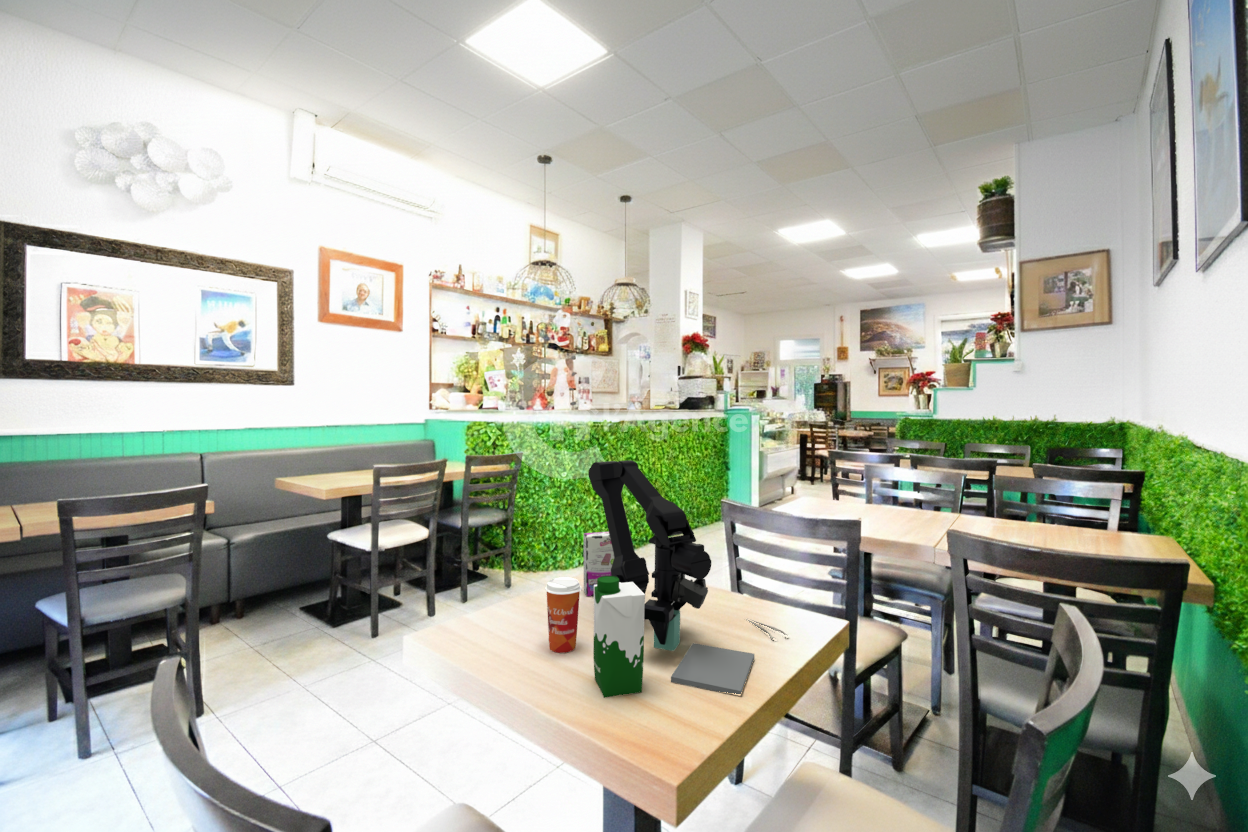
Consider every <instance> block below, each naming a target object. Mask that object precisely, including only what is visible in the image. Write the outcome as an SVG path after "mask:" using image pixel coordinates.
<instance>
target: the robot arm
mask: <svg viewBox="0 0 1248 832" xmlns="http://www.w3.org/2000/svg"><path fill="white" fill-rule="evenodd" d="M587 474H588V479H589V481H590V485H591V487H592V489H593V491H594V492H595V493H596V494H597V495H598V497H599V498H600V499H601V502H602V507H603V510H604V516H605V519H606V525H607V528H608V532H609V534H610V539H611V543H612V548H613V552H614V561H613V564H612V567H611V576H615V577H617V578H619V582H621V583H625V582H634V584H635V585H636V586H637V587H638V588H639V589H640V590H641V591H642V592H643V593H644V594H645V595H646V591H647V588H648V585H649V583H650V577H649V575H650V572H649V570H648V567H647V566H648V565H647V561H646V558H645V557H644V556H643V557H640V556H639V555H638V554H637V553H636V552H635V551H636V550H635V548H634V543H633V539H632V534H631V531H630V527H629V522H628V517H627V514H626V509H625V505H624V500H623V496H622V492H623V489H624V486H625V487H626V488H627V490H628V491H629V492H630V494H631V495H632V496H633V497H634V498H635V500H636V501H637V503H638V504H639V505H640V506H641V507H642V509H643V511H644V513H645V521H646V523H647V525H648V527H649V529H650V530H651V533H652V534H653V536H652V537H651V538H649V539H648V543H650V544H653V545H654V571H652V572H651V579H654V583H653V584H654V586H653V587H654V588H653V590H652V591H651V593H650V594H651V598H657V599H648V600H647V601H645V607H644V620H648V622H649V623H650V625H651V627H652V630H653V633H654V632H655V634H656V636H657V638H658V641H659V643H660V644H662V645H665V643H666V638H667V632H668V626H669V622H670V621H672V620H673V618H674V617H675V616H676V615H674V610H677V611H680V612H681V609H682V608H683V607H684V606H685V605H686V604H688V605H690V606H692V608H694V609H700V608H701V607H702V605H703V604H704V602H705V600H706V597H707V594H708V593H709V589H708V587H707V583H706V577H707V576H708V574H709V573H710V571H711V568H712V559H711V556H710V554H709V553H708V552H707V551H705V545H704V544H701V543H696V542H697V539H696V536H695V533H694V531H693V529H692V528H691V525H690V522H689V520H688V518H687V514H686V513H685V511H684V510H683V509H682V508H681V507H679V506H678V505H677V504H676V503H675V502H673V501H671V500H669V499H667V498H664V497H663V495H662V494H661V493H660V492H659V491H658V490H657V489H656V488H655V486H654V485H653V484H652V482H650V480H649V479H648V478H647V476H646V475H645V474H644V473H643V471H642V470H641V469H640V468H639V464H638V463H637V462H636V461H634V460H618V461H616V460H609V461H608V460H607V461H595V462H593V463H592V464H591V465H590V467H589V468H588V473H587ZM686 576H687V577H691V579H688V578H686ZM692 578H693V579H692ZM694 579H695V580H694Z"/></svg>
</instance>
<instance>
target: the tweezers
mask: <svg viewBox="0 0 1248 832" xmlns="http://www.w3.org/2000/svg"><path fill="white" fill-rule="evenodd" d="M745 619H746V618H745ZM747 620H748V618H747V619H746V620H745V621H747ZM751 620H752V619H751ZM748 621H749V622H748ZM748 621H747V622H748V623H750V622H751V623H752V625H753V624H754V625H755V626H757V627H758V628H760V629H761V630H763V631H764V632H766V633H768V634H769V636H770V638H772V639H773V638H775V637H774V636H773V635H772V634H771V633H770V631H768V629H766V628H765V627H763V626H761V625H764V626H767V627H769V628H771V629H773V630H775V631H778V632H779V633H783V634H784V635H788V633H785V632H784V631H783V630H781V629H780V628H777V627H775V626H772V625H768V624H767V623H766V624H765V623H762V622H759V621H757V620H752V621H754V622H756V623H759V624H761V625H758V624H756V623H754V622H752V621H750V620H748ZM751 623H750V624H751ZM754 625H753V626H754ZM755 626H754V627H755ZM757 627H756V628H757ZM758 628H757V629H758ZM761 630H760V631H761ZM770 638H769V639H770ZM772 639H771V640H772Z"/></svg>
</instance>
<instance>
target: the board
mask: <svg viewBox="0 0 1248 832" xmlns="http://www.w3.org/2000/svg"><path fill="white" fill-rule="evenodd" d="M753 660H754V661H755V653H751V652H748V651H747V652H746V651H741V650H735V649H728V648H724V647H718V646H712V645H708V644H707V645H706V644H702V643H696V642H692V643H691V645H690V647H689V648H688V649H687V651H686V653H685V654H684V656H683V657H682V659H681V660H680V662H679V664H678V665H677V667H676V668H675V670H674V671H673V673H672V675H671V676H670V683H674V684H678V685H679V684H680V685H683V686H688V687H694V688H698V689H704V690H707V691H711V692H712V691H713V692H717V691H718V692H717V693H721V692H726V693H727V692H728V693H734V694H735V693H736V694H741V692H742V693H743V691H744V689H743V687H744V688H745V686H744V684H745V685H746V683H745V682H747V680H748V678H747V676H748V677H749V675H750V672H749V671H751V669H752V667H751V665H752V666H753V664H752V662H753V663H754V661H753ZM750 668H751V669H750ZM748 674H749V675H748ZM746 679H747V680H746ZM742 690H743V691H742ZM719 691H720V692H719ZM726 693H725V694H726ZM741 695H742V694H741Z"/></svg>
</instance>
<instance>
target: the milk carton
mask: <svg viewBox="0 0 1248 832" xmlns="http://www.w3.org/2000/svg"><path fill="white" fill-rule="evenodd" d="M645 603H646V593H645V594H644V593H643V592H642V591H641V590H640V589H639V588H638V587H637V586H636V585H635V584H634V582H625V583H621V582H619V578H617V577H615V576H602V577H599V578H598V579H597V584H596V585H594V596H593V672H594V673H593V674H594V681H595V682H596V684H597V687H598V688H599V690H600V692H601V694H602V697H603V698H605V699H606V698H611V697H619V696H620V697H621V696H627V695H632V694H640V693H642V692H643V678H644V677H643V676H644V659H645V657H644V655H645V651H644V650H645V619H644V607H645Z"/></svg>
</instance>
